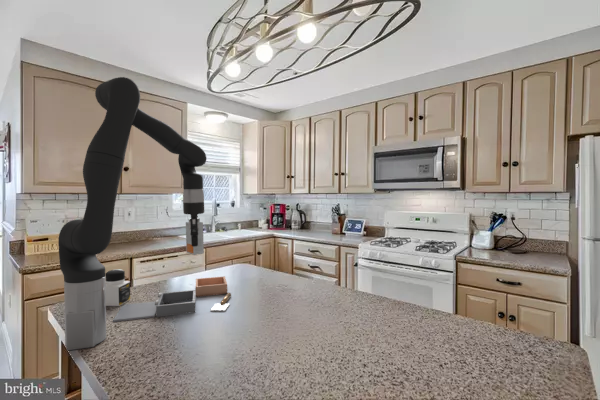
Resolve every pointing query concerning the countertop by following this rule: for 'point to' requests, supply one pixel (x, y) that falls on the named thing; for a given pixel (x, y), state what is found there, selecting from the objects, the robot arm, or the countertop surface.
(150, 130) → the robot arm
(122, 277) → the medicine bottle
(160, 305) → the bin
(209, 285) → the bin
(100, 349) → the countertop surface
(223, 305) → the hand shovel
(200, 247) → the skincare box
